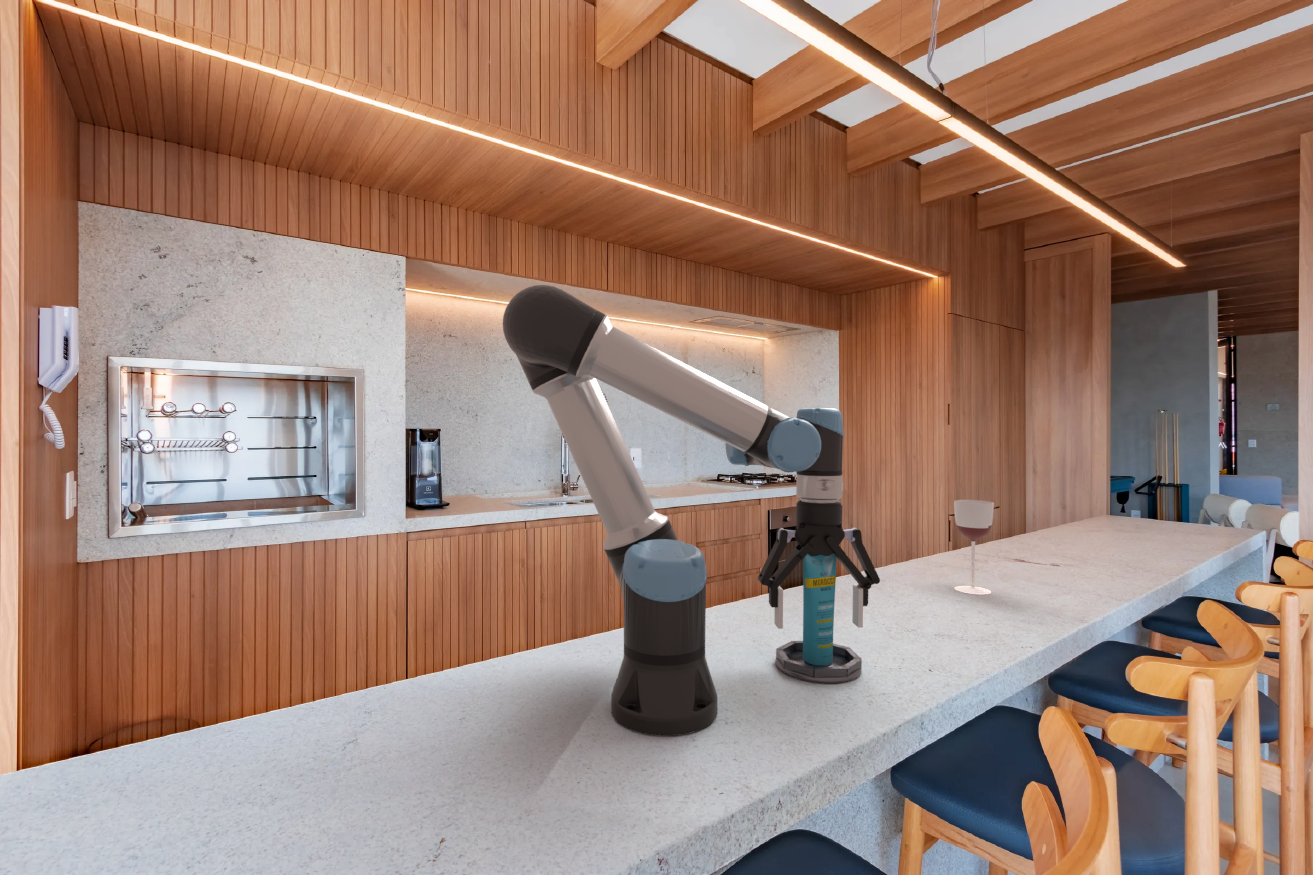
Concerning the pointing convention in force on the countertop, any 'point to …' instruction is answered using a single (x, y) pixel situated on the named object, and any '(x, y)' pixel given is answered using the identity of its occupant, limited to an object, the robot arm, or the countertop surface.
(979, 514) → the wineglass
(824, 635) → the tube
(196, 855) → the countertop surface
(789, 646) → the octagonal bowl
